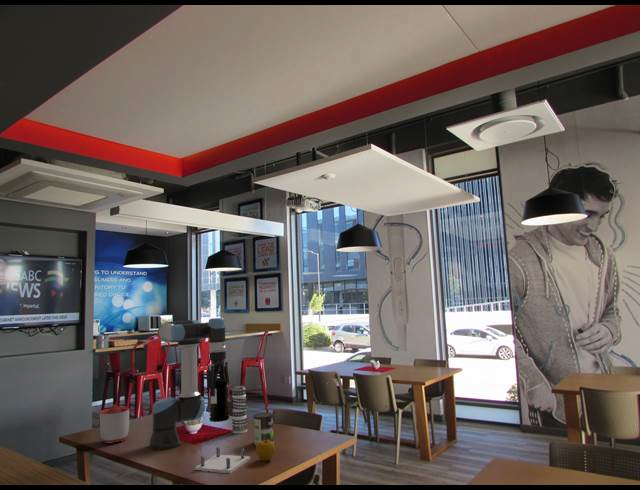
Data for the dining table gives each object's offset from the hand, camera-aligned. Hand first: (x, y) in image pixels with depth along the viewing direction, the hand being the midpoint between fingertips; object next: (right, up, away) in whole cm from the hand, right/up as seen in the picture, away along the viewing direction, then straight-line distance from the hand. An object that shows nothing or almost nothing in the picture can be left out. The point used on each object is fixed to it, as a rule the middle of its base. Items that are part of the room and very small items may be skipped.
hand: (218, 401), depth 215 cm
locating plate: (+3, -27, -4) cm, 28 cm away
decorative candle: (+1, -35, +51) cm, 62 cm away
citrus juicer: (-68, -37, +44) cm, 89 cm away
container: (0, -8, -1) cm, 8 cm away
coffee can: (+18, -31, +27) cm, 44 cm away
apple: (+22, -27, -1) cm, 35 cm away
